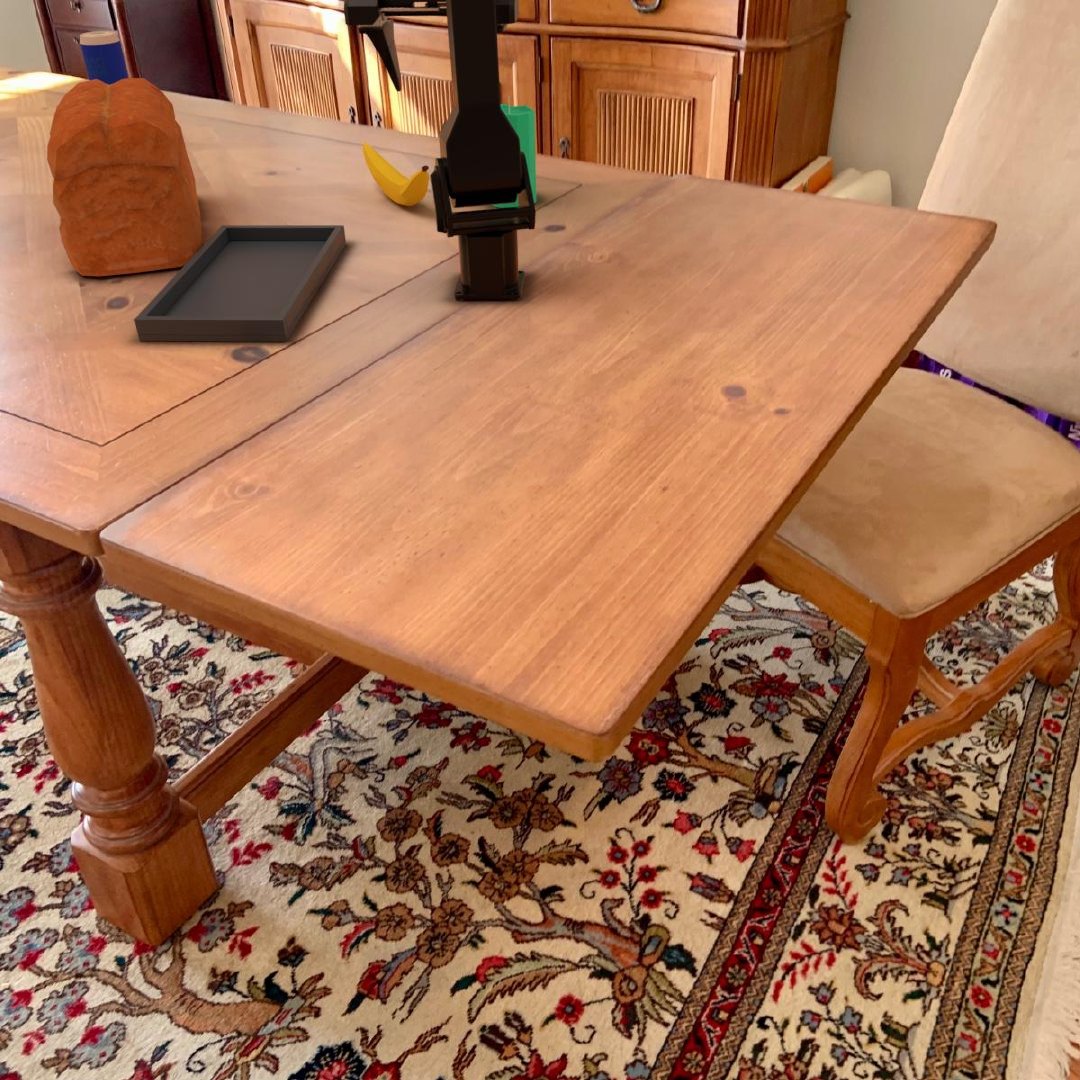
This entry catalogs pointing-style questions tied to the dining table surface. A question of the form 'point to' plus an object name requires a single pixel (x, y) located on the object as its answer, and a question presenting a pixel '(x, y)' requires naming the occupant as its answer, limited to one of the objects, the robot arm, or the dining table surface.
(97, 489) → the dining table surface
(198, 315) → the tray
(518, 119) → the candle
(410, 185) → the banana
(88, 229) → the bread
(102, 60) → the beverage can
